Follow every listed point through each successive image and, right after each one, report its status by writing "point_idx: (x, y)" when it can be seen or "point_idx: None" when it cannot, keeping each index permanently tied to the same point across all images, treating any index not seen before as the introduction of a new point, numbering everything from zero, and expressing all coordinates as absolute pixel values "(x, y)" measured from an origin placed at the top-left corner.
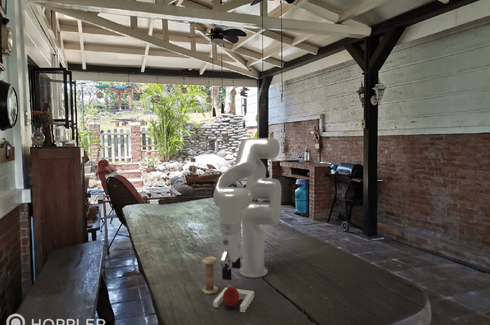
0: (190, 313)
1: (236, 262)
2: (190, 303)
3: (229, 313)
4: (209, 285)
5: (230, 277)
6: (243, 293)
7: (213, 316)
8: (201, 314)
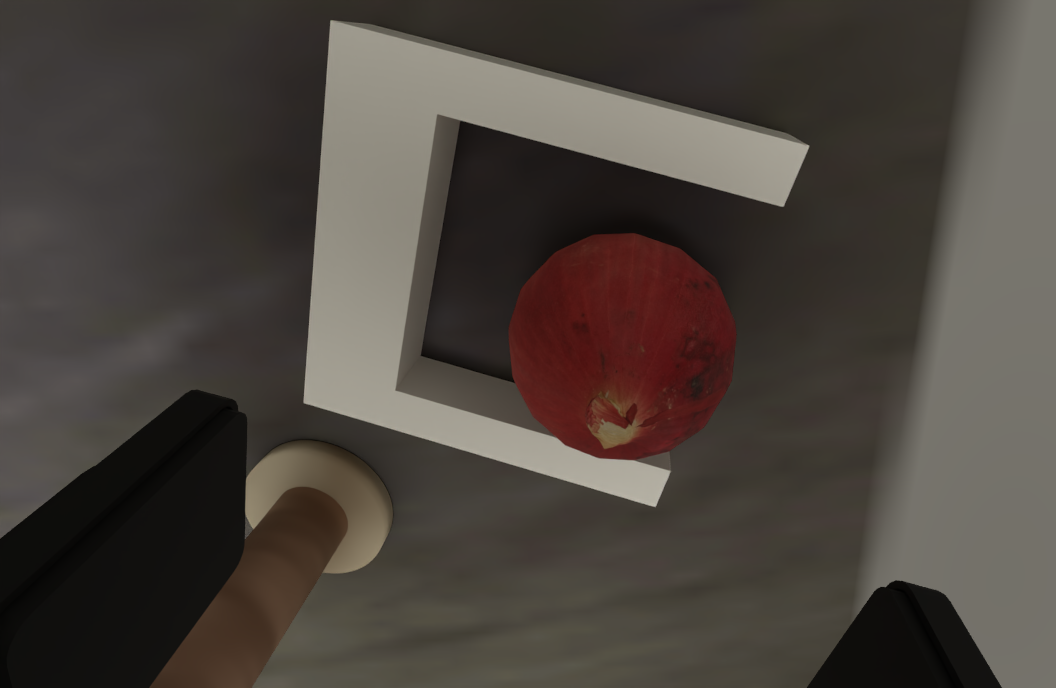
0: (736, 619)
1: (136, 597)
2: (561, 624)
3: (771, 306)
4: (322, 556)
5: (974, 658)
6: (424, 179)
7: (817, 452)
8: (764, 545)
